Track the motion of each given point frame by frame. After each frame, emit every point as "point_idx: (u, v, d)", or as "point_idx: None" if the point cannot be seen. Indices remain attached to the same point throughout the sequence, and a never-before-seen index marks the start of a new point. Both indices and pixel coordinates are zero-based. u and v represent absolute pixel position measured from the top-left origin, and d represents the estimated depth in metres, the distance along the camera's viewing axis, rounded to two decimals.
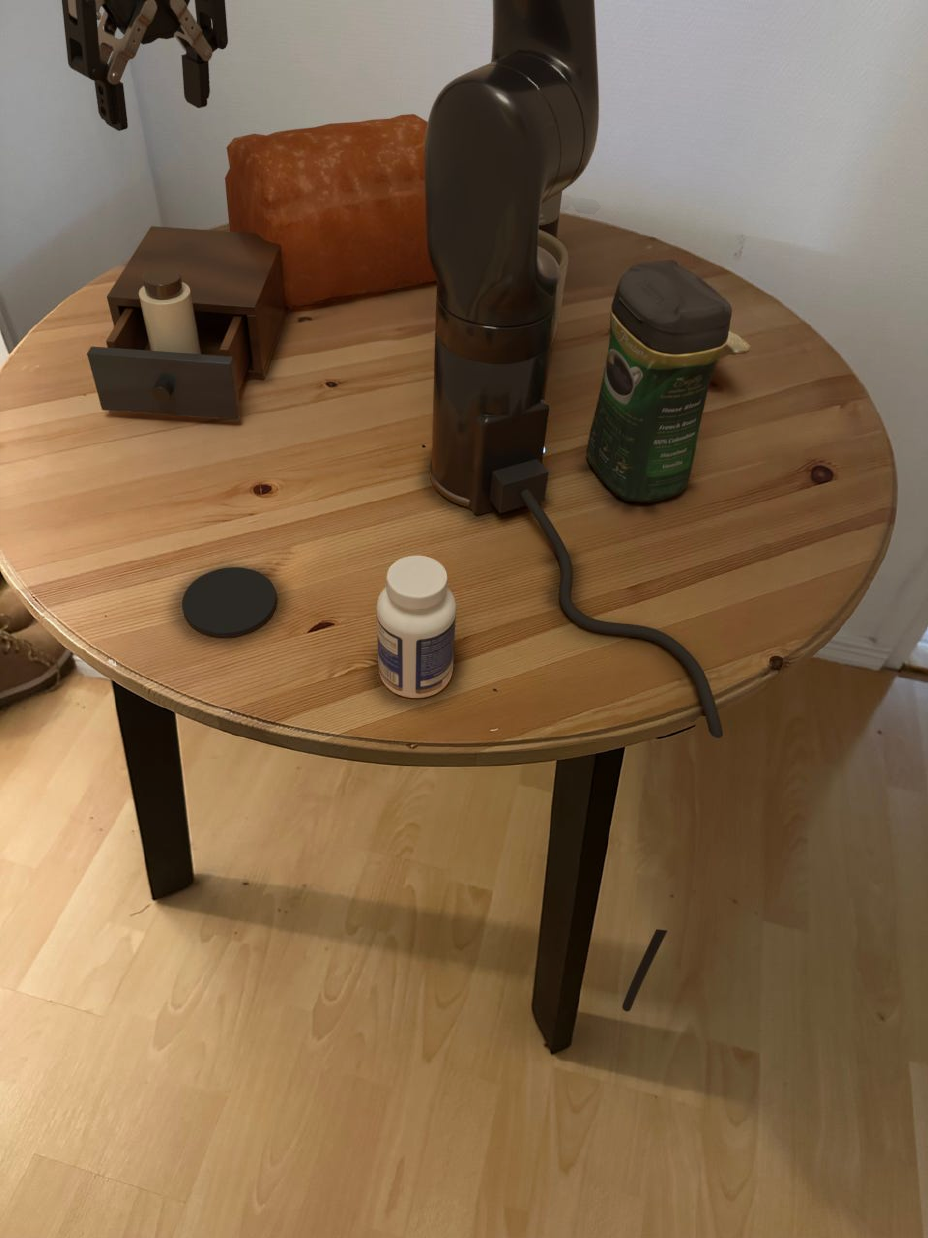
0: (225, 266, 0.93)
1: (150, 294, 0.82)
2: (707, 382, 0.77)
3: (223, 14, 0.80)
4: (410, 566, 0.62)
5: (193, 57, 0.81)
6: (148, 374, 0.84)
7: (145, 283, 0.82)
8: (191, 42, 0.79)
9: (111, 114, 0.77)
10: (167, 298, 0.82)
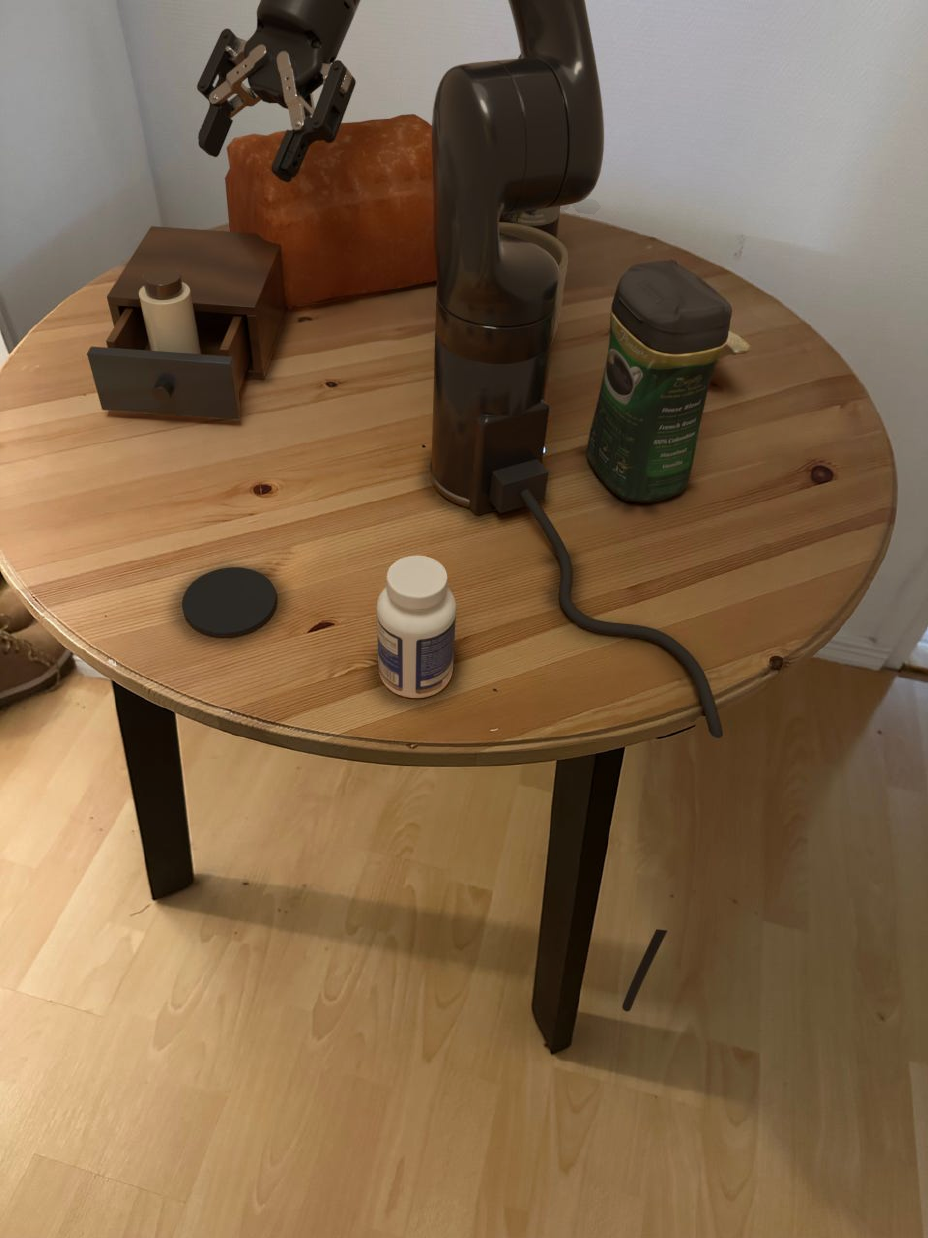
0: (225, 266, 0.93)
1: (150, 294, 0.82)
2: (707, 382, 0.77)
3: (327, 98, 0.81)
4: (410, 566, 0.62)
5: (294, 132, 0.83)
6: (148, 374, 0.84)
7: (145, 283, 0.82)
8: (287, 105, 0.82)
9: (201, 130, 0.86)
10: (167, 298, 0.82)
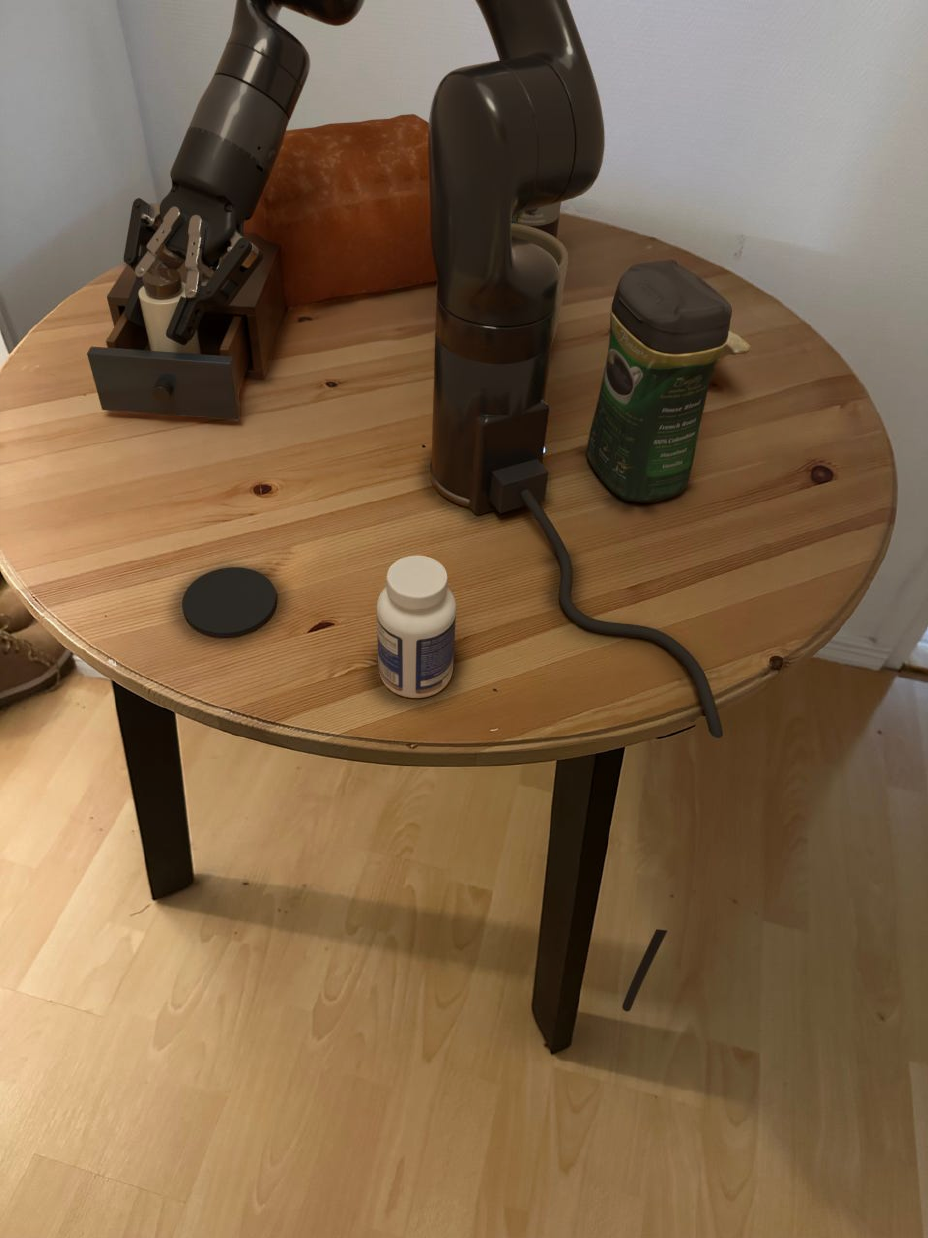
0: None
1: (150, 294, 0.82)
2: (707, 382, 0.77)
3: (224, 272, 0.81)
4: (410, 566, 0.62)
5: (189, 298, 0.83)
6: (148, 374, 0.84)
7: (145, 283, 0.82)
8: None
9: (128, 302, 0.85)
10: (167, 298, 0.82)
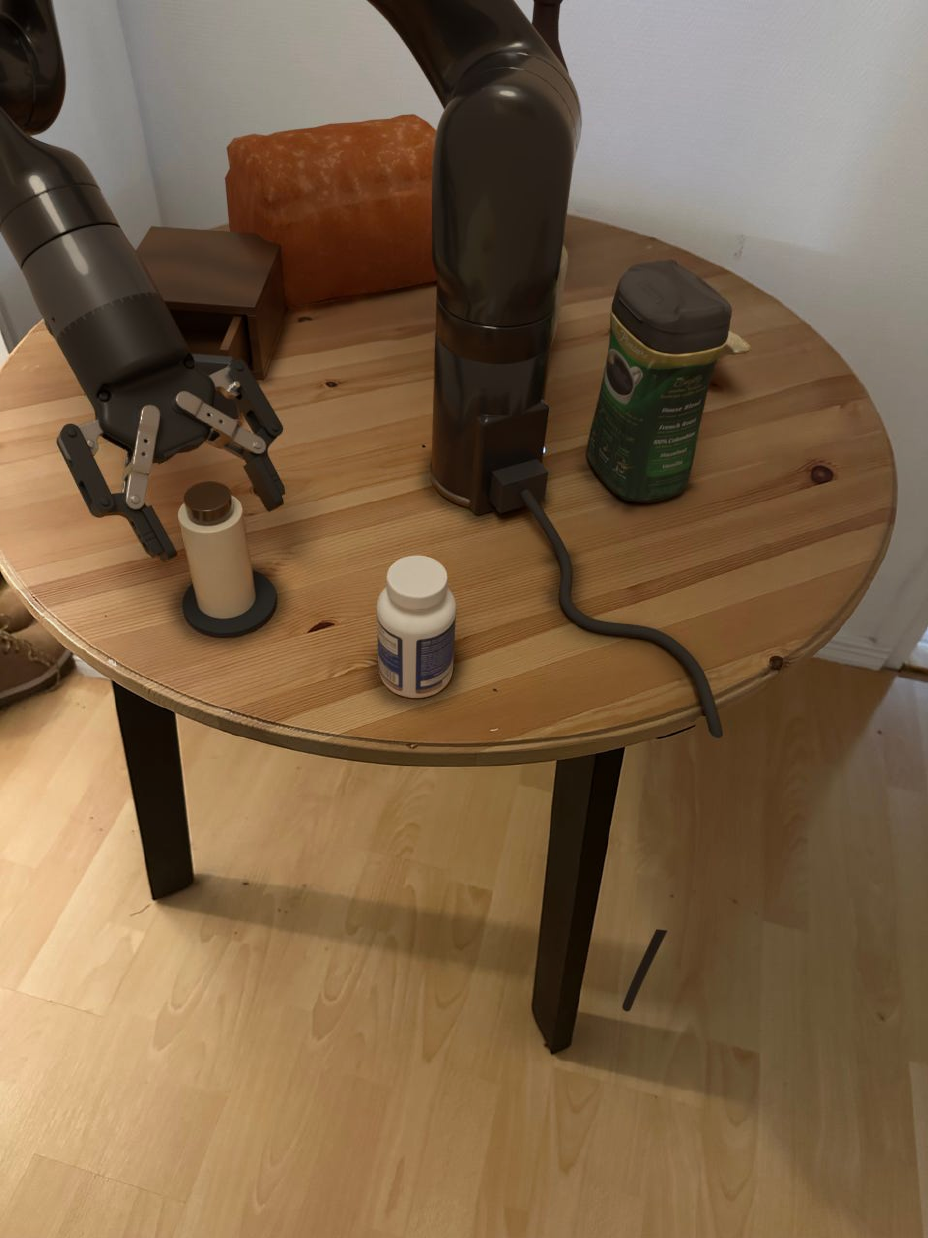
0: (225, 266, 0.93)
1: (222, 519, 0.65)
2: (707, 382, 0.77)
3: (263, 400, 0.67)
4: (410, 566, 0.62)
5: (249, 458, 0.67)
6: None
7: (215, 511, 0.64)
8: (230, 438, 0.66)
9: (151, 544, 0.63)
10: (233, 508, 0.66)
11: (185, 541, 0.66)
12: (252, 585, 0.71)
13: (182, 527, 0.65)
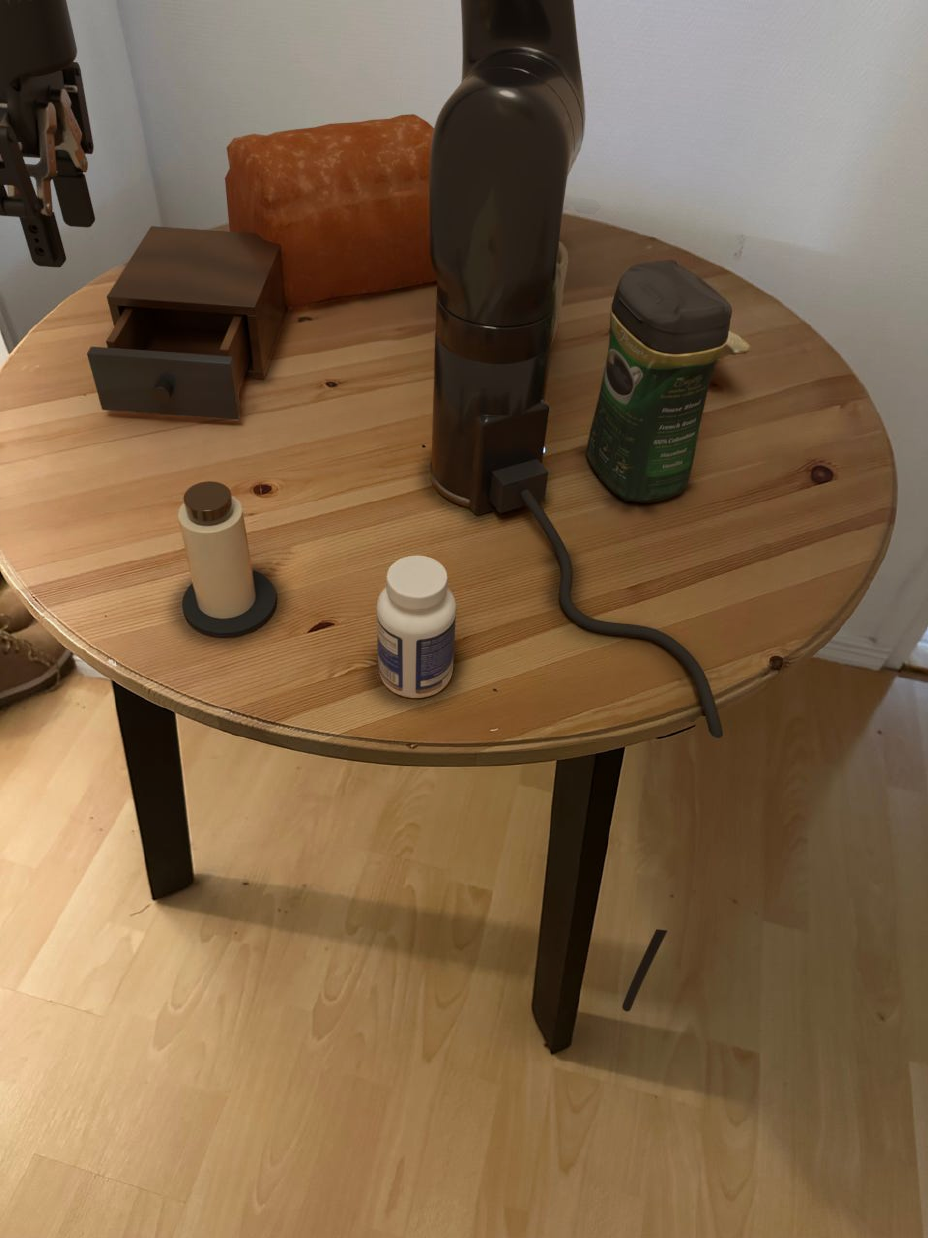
0: (225, 266, 0.93)
1: (222, 519, 0.65)
2: (707, 382, 0.77)
3: (86, 113, 0.69)
4: (410, 566, 0.62)
5: (70, 173, 0.69)
6: (148, 374, 0.84)
7: (215, 511, 0.64)
8: (74, 149, 0.68)
9: (51, 251, 0.66)
10: (233, 508, 0.66)
11: (185, 541, 0.66)
12: (252, 585, 0.71)
13: (182, 527, 0.65)
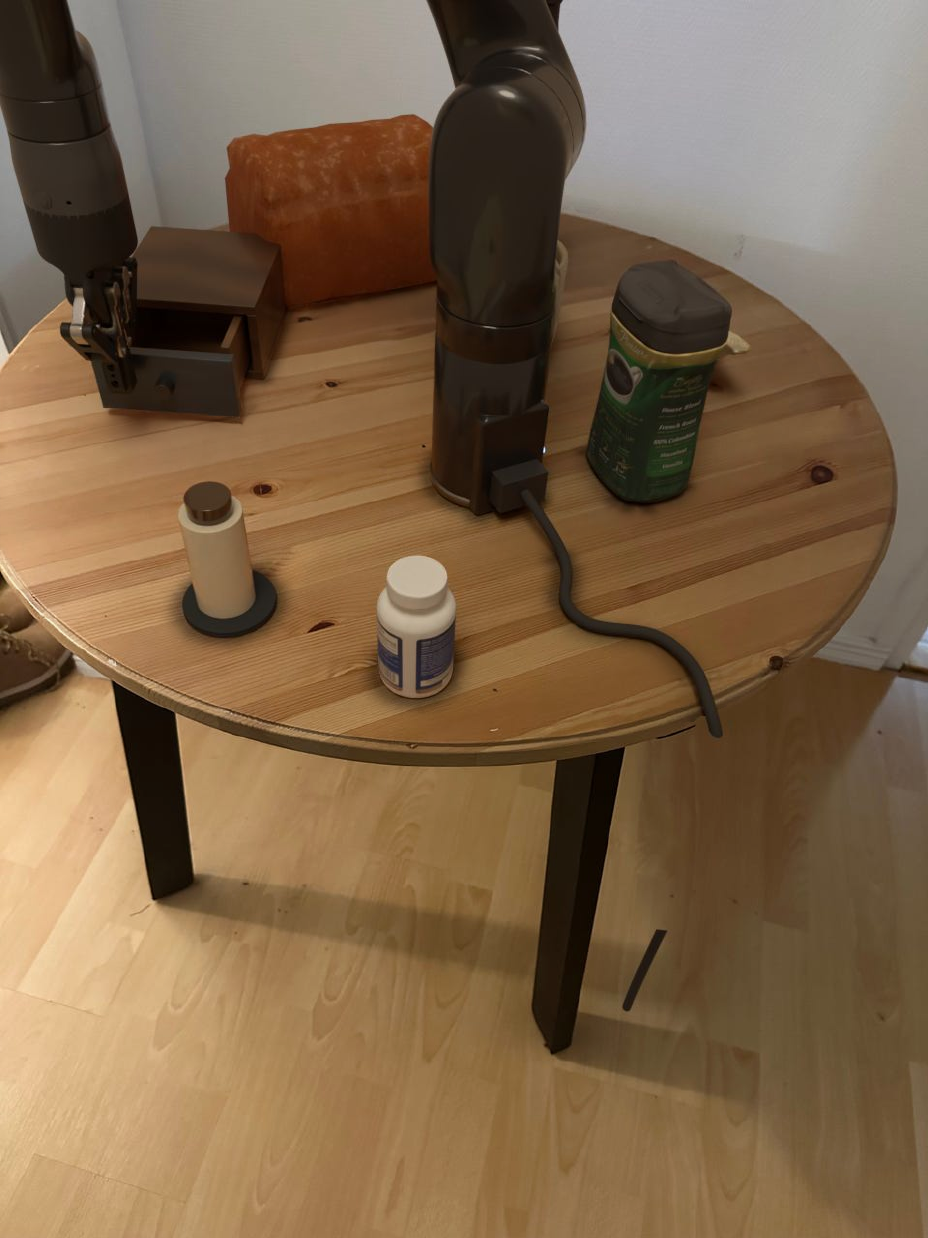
0: (225, 266, 0.93)
1: (222, 519, 0.65)
2: (707, 382, 0.77)
3: (135, 298, 0.82)
4: (410, 566, 0.62)
5: None
6: (149, 372, 0.85)
7: (215, 511, 0.64)
8: None
9: (124, 383, 0.82)
10: (233, 508, 0.66)
11: (185, 541, 0.66)
12: (252, 585, 0.71)
13: (182, 527, 0.65)
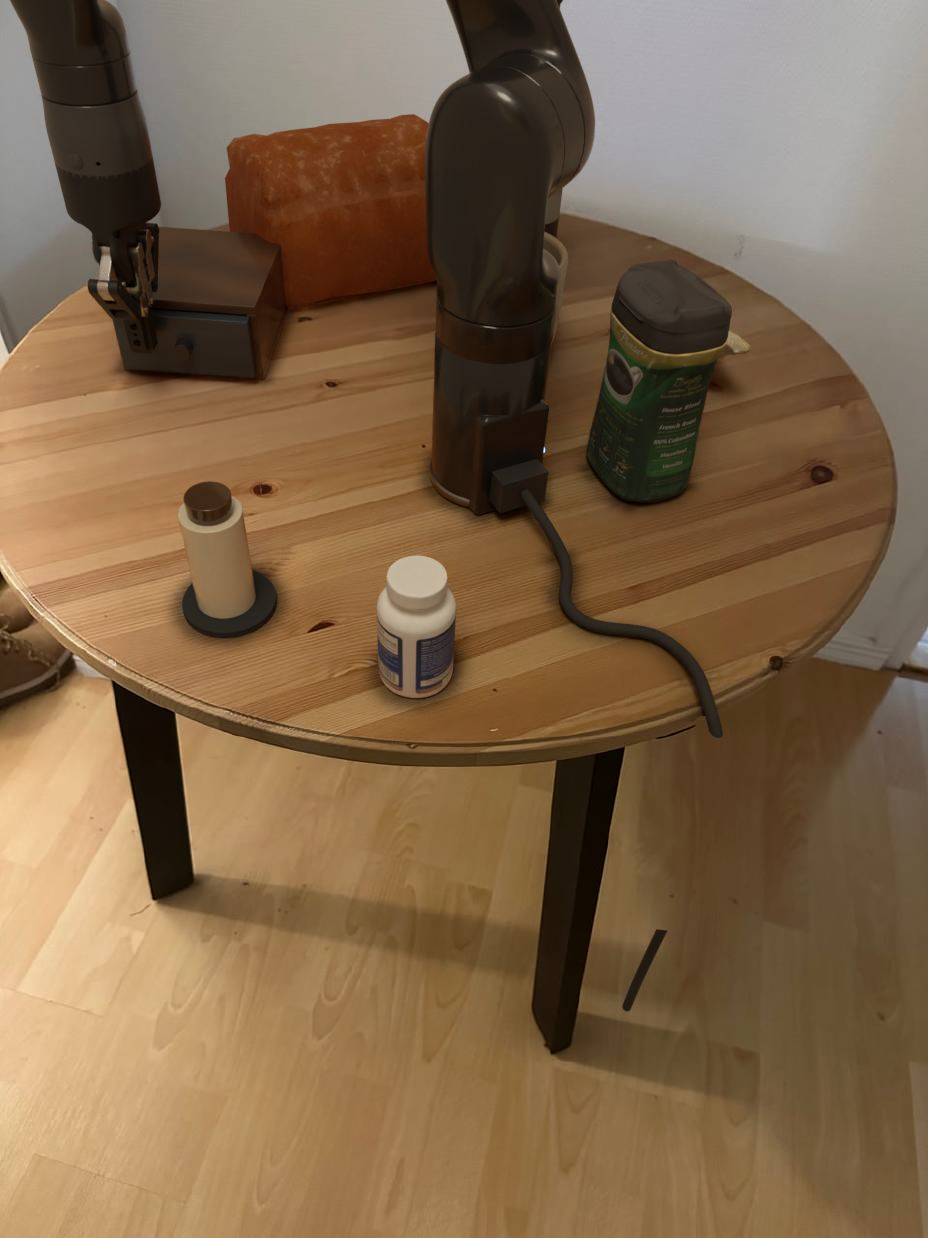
0: (225, 266, 0.93)
1: (222, 519, 0.65)
2: (707, 382, 0.77)
3: (157, 262, 0.86)
4: (410, 566, 0.62)
5: None
6: (169, 333, 0.89)
7: (215, 511, 0.64)
8: None
9: (146, 342, 0.86)
10: (233, 508, 0.66)
11: (185, 541, 0.66)
12: (252, 585, 0.71)
13: (182, 527, 0.65)
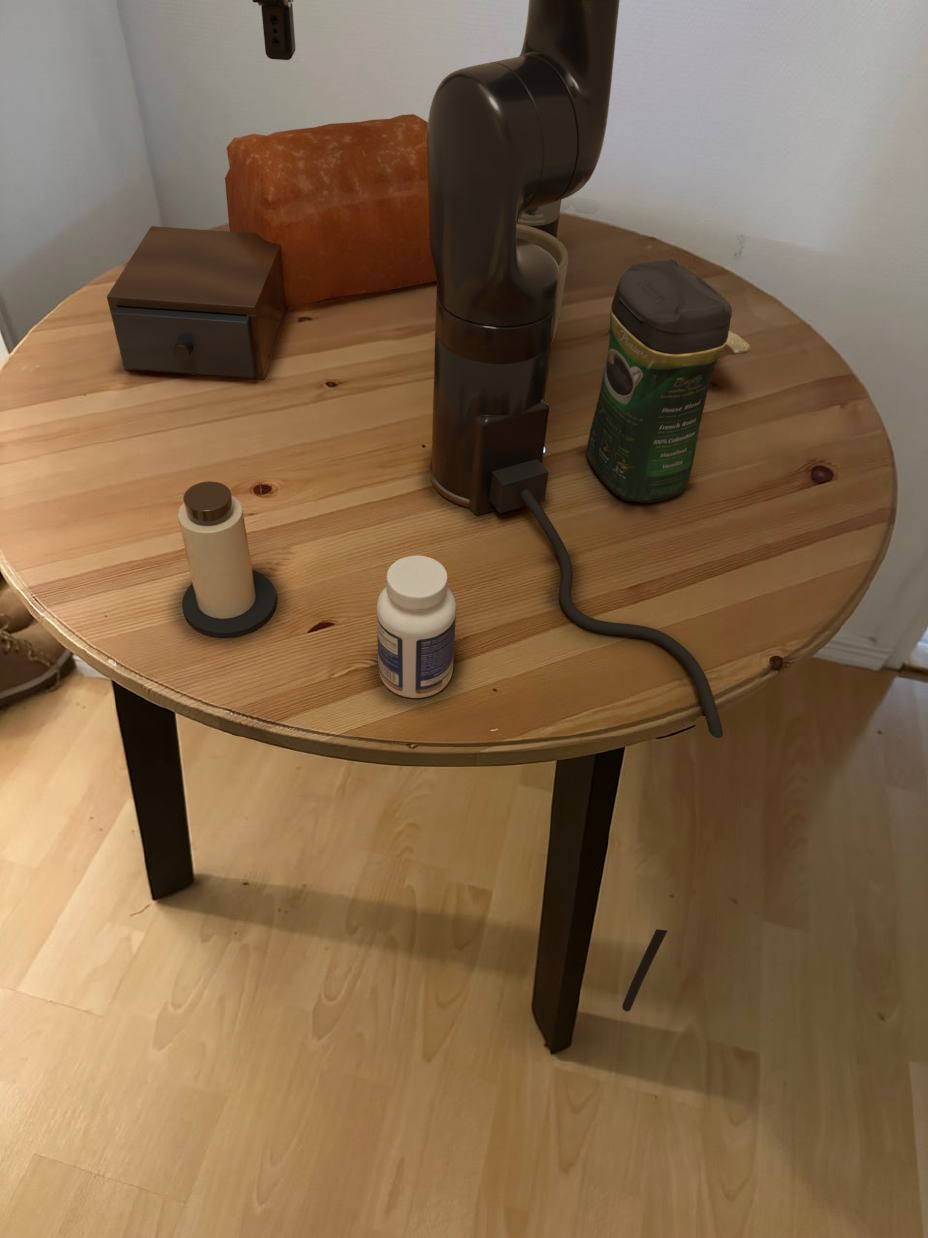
0: (225, 266, 0.93)
1: (222, 519, 0.65)
2: (707, 382, 0.77)
3: None
4: (410, 566, 0.62)
5: None
6: (169, 333, 0.89)
7: (215, 511, 0.64)
8: None
9: (285, 42, 0.76)
10: (233, 508, 0.66)
11: (185, 541, 0.66)
12: (252, 585, 0.71)
13: (182, 527, 0.65)
